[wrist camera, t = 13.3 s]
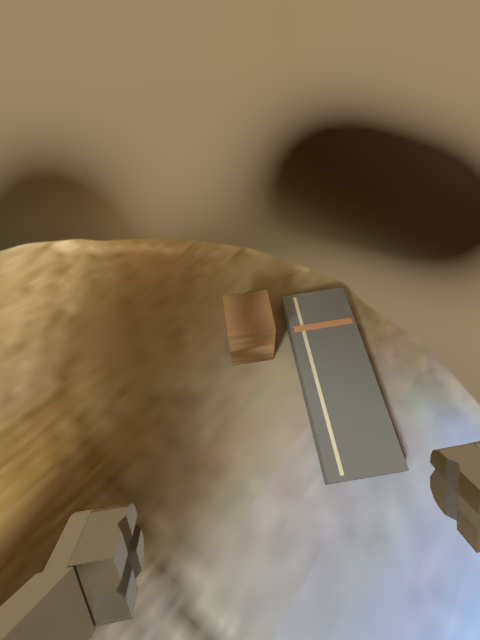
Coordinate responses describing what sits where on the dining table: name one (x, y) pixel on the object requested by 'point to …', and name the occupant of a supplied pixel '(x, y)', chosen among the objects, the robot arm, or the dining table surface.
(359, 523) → the dining table surface
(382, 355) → the dining table surface
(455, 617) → the dining table surface
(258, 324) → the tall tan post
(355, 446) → the board
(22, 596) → the robot arm
